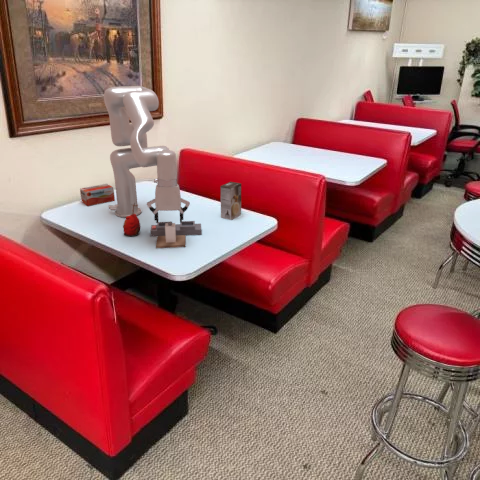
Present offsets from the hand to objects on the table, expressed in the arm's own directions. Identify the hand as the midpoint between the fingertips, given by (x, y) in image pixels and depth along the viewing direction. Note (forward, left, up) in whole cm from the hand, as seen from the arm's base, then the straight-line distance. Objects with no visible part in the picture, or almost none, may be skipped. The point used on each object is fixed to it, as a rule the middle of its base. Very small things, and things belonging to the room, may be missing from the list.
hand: (169, 221), depth 178 cm
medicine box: (-39, +55, -10) cm, 68 cm away
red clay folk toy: (-17, +10, -10) cm, 22 cm away
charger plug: (0, -1, -8) cm, 8 cm away
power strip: (+2, +10, -9) cm, 14 cm away
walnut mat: (0, -1, -9) cm, 9 cm away
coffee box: (+28, +28, -10) cm, 41 cm away
